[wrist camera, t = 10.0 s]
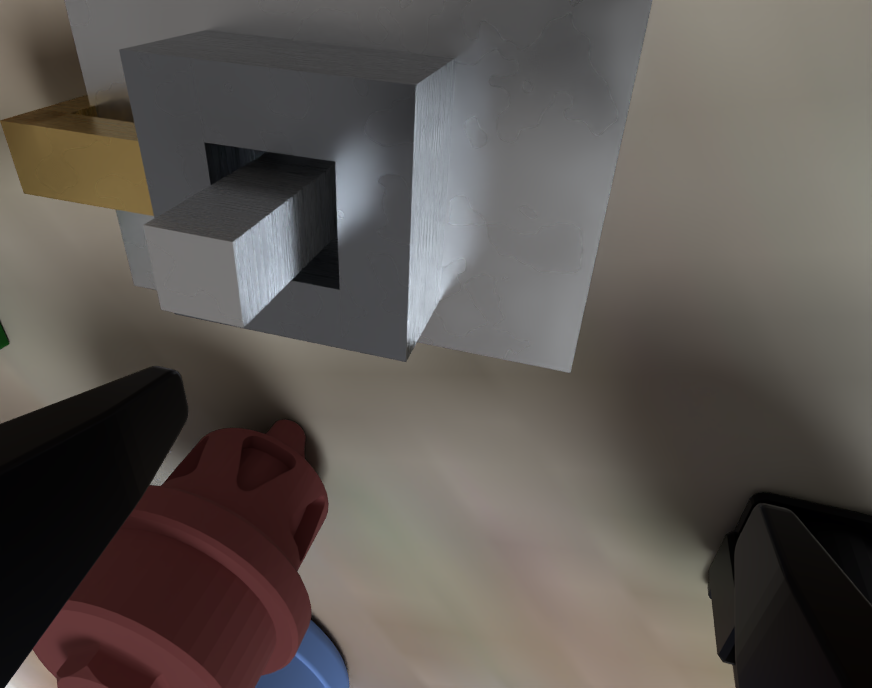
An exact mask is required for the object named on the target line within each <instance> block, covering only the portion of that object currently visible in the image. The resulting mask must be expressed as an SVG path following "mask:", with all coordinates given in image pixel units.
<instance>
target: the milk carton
mask: <svg viewBox="0 0 872 688" xmlns="http://www.w3.org/2000/svg"><path fill="white" fill-rule="evenodd" d="M7 345H9V342H8V339H7V337H6V335H5V333H4V330H3V328H2V326H1V324H0V349H2V348H3V347H5V346H7Z"/></svg>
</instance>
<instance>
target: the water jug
mask: <svg viewBox="0 0 872 688" xmlns="http://www.w3.org/2000/svg"><path fill="white" fill-rule="evenodd" d="M255 688H349V677H348V673H347V669H346V666H345V664H344V661H343V659H342V657H341V655H340V653H339V652H338V650H337V649H336V647H335V646H334V644H333V643H332V641H331V640H330V639H329V638H328V637H327V635H326V634H325V633H324V632H323V631H322V630H321V629H320V628H319V627H318V626H317V625H316V624H315V623H314V622H313V621H312V620H310V624H309V627H308V629H307V631H306V633H305V636H304V638H303V640H302V642H301V644H300V646H299V648H298V650H297V652H296V655H295V656H294V658H293V659H292V660H291V662H290V663H289V664H288V665H286V666H285V667H284V668H282V669H280V670H278V671H276V672H273V673H270V674H266V675H262V676H261V677H260V679H259V681H258V683H257V685H256V686H255Z"/></svg>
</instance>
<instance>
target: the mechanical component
mask: <svg viewBox="0 0 872 688" xmlns="http://www.w3.org/2000/svg"><path fill="white" fill-rule="evenodd" d="M305 439H306V436H305V433H304V431H303V430H302V428H301V427H300V426H299V425H298V424H297V423H295V422H293V421H290V420H285V419H283V420H278V421H276V422H275V423H274V425H273V426H272V427H271V429H270V430H269V431H268V432H267V433H265V434H263V433H261V432H258V431H253V430H249V429H243V428H225V429H218V430H216V431H213V432H210V433H209V434H207V435H206V436H204V437H203V438H202V439H201V440H200V441H199V442H198V444H197V445H196V446H195V447H194V448H193V449H192V451H191V452H190V453H189V454H188V455H187V456H186V457H185V459H184V460H183V461H182V462H181V463H180V464H179V465H178V466H177V468H176V469H175V470H174V471H173V472H172V474H171V475H170V476H169V477H168V478H167V480H166V481H165V482H164V483H163V484H162V485H161V486H154V485H149V487H148V488H147V490H146V492H145V493H144V495H143V496H142V498H141V499H140V501H139V502H138V504H137V505H136V507H135V508H134V510H133V511H132V513H131V514H130V515H129V517H128V518H127V519H126V521H125V522H124V524H123V525H122V526H121V528H120V529H119V530H118V532H117V533H116V535H115V536H114V537H113V539H112V540H111V542H110V543H109V544H108V546H107V547H106V548H105V550H104V551H103V553H102V554H101V555H100V557H99V558H98V559H97V561H96V562H95V564H94V565H93V566H92V568H91V569H90V570H89V572H88V573H87V575H86V576H85V577H84V579H83V580H82V582H81V583H80V584H79V586H78V587H77V588H76V590H75V591H74V593H73V594H72V595H71V597H70V598H69V599H68V601H67V602H66V604H65V605H64V606H63V608H62V609H61V611H60V612H59V613H58V615H57V616H56V617H55V619H54V620H53V622H52V623H51V624H50V626H49V627H48V628H47V630H46V631H45V633H44V634H43V635H42V637H41V638H40V640H39V641H38V642H37V644H36V645H35V646H34V648H33V651H34V652H35V654H36V655H37V657H38V658H39V660H40V661H41V662H42V663H43V665H44V666H45V667H46V668H47V669H48V670H49V671H50V672H51V673H52V674H53V675H54V676H55V677H56V678H57V686H58V688H255V686H256V685H257V683H258V681H259V679H260V677H261V676H262V675H266V674H270V673H273V672H276V671H278V670H280V669H282V668H284V667H285V666H286V665H288V664H289V663H290V662H291V660H292V659H293V658H294V656H295V655H296V652H297V650H298V648H299V646H300V644H301V642H302V640H303V638H304V636H305V633H306V631H307V629H308V627H309V624H310V620H311V604H310V600H309V596H308V593H307V591H306V588H305V586H304V584H303V581H302V579H301V577H300V575H299V574H298V572H297V571H298V569H299V567H300V565H301V563H302V561H303V560H304V558H305V556H306V554H307V552H308V550H309V548H310V546H311V545H312V543H313V541H314V539H315V537H316V535H317V533H318V532H319V530H320V528H321V526H322V524H323V522H324V520H325V519H326V516H327V513H328V497H327V493H326V490H325V487H324V485H323V483H322V481H321V479H320V478H319V476H318V474H317V473H316V472H315V470H314V469H313V468H312V467H311V465H310V464H309V463H308V462H307V461H306V460H305V452H304V448H305Z"/></svg>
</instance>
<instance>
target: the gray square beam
mask: <svg viewBox="0 0 872 688" xmlns="http://www.w3.org/2000/svg"><path fill="white" fill-rule="evenodd" d="M143 227H144V232H145V236H146V241H147V246H148V250H149V255H150V260H151V265H152V269H153V274H154V279H155V283H156V288H157V293H158V298H159V302H160V307H161V310H165V311H170V312H174V313H179V314H183V315H188V316H192V317H197V318H202V319H206V320H211V321H215V322H220V323H225V324H229V325H234V326H238V327H243V328H244V327H245V326H246V325H247V324H248V323H249V322H250V321H251V320H252V319H253V318H254V317H255V316H256V315H257V314H258V313H259V312H260V311H261V310H262V309H263V308H264V307H265V306H266V305H267V304H268V303H269V302H270V301H271V300H272V299H273V298H274V297H275V296H276V295H277V294H278V293H279V292H280V291H281V290H282V289H283V288H284V287H285V286H286V285H287V284H288V283H289V282H290V281H291V280H292V279H293V278H294V277H295V276H296V275H297V274H298V273H299V272H300V271H301V270H302V269H303V268H304V267H305V266H306V265H307V264H308V263H309V262H310V261H311V260H312V259H313V258H314V257H315V256H316V255H317V254H318V253H319V252H320V251H321V250H322V249H323V248H324V247H325V246H326V245H327V244H328V243H329V242H330V241H331V240H332V239H333V238H334V237H335V236H336V235H337V234H338V227H337V199H336V171H335V162H334V161H328V160H321V159H314V158H307V157H301V156H294V155H287V154H280V153H273V152H266V153H264V154H263V155H261V156H259V157H258V158H256V159H254V160H253V161H251V162H249V163H248V164H246V165H244V166H242V167H241V168H239V169H237V170H236V171H234V172H232V173H231V174H229V175H227V176H225V177H224V178H222V179H220V180H219V181H217V182H215V183H214V184H212V185H210V186H208V187H207V188H205V189H203V190H202V191H200V192H198V193H197V194H195V195H193V196H192V197H190V198H188V199H186V200H185V201H183V202H181V203H180V204H178V205H176V206H175V207H173V208H171V209H169V210H168V211H166V212H164V213H163V214H161V215H159V216H158V217H156V218H154V219H152V220H151V221H149V222H147V223H146V224H144V225H143Z"/></svg>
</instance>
